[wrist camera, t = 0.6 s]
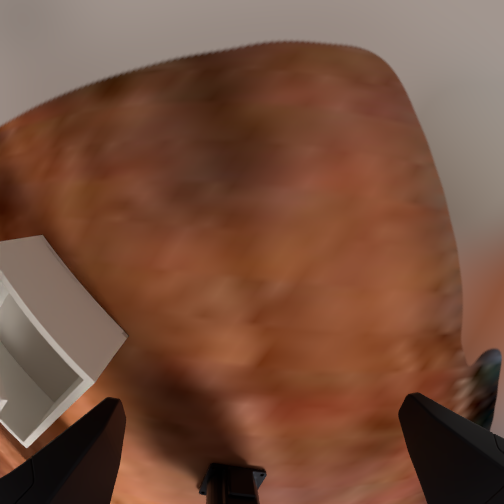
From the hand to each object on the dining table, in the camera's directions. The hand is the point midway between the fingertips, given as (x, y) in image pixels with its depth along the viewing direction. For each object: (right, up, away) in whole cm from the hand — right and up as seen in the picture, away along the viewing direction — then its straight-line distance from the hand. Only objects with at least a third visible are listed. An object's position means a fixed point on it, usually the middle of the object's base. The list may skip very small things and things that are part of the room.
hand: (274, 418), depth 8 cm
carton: (-20, -3, +15) cm, 25 cm away
